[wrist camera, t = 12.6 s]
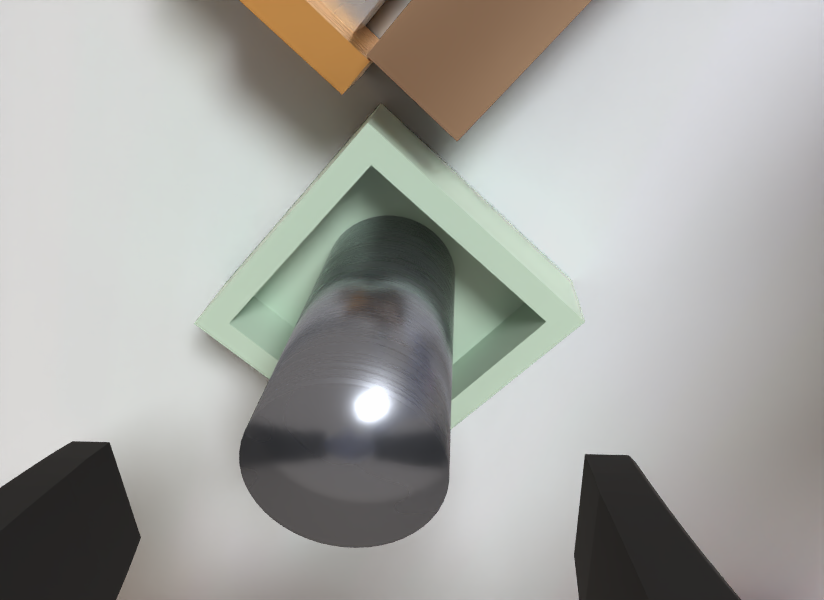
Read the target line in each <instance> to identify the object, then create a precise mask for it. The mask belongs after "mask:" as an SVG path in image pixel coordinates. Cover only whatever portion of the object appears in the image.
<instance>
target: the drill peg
mask: <svg viewBox="0 0 824 600" xmlns="http://www.w3.org/2000/svg"><path fill="white" fill-rule="evenodd" d="M454 300H455V268H454V263H453V260H452V257H451V255H450V252H449V250H448V249H447V247H446V245H445V244H444V243H443V241H442V240H441V239H440V238H439V237H438V236H437V235H436V234H435V233H434V232H433V231H432V230H430V229H429V228H428V227H426V226H424V225H423V224H421V223H419V222H417V221H414V220H412V219H408V218H405V217H400V216H388V215H384V216H376V217H372V218H368V219H365V220H362V221H360V222H358V223H356V224H354V225H353V226H351V227H350V228H349V229H347V230H346V231H345V232H344V233H343V234H342V235H341V236H340V237H339V238H338V240H337V241H336V242H335V244H334V246H333V248H332V250H331V252H330V254H329V256H328V258H327V260H326V262H325V264H324V266H323V269H322V271H321V273H320V275H319V277H318V279H317V281H316V283H315V285H314V287H313V289H312V292H311V294H310V296H309V298H308V300H307V302H306V304H305V306H304V308H303V310H302V313H301V315H300V317H299V319H298V321H297V323H296V325H295V327H294V329H293V331H292V333H291V336H290V338H289V340H288V342H287V344H286V346H285V348H284V350H283V352H282V354H281V356H280V359H279V361H278V363H277V365H276V367H275V369H274V371H273V373H272V375H271V377H270V379H269V382H268V384H267V386H266V388H265V390H264V392H263V394H262V396H261V398H260V400H259V402H258V405H257V407H256V409H255V411H254V413H253V415H252V417H251V419H250V421H249V423H248V426H247V428H246V430H245V432H244V435H243V438H242V440H241V445H240V451H239V463H240V468H241V474H242V477H243V479H244V482H245V485H246V487H247V489H248V491H249V492H250V494H251V496H252V497H253V498H254V500H255V501H256V503H257V504H258V505H259V506H260V507H261V508H262V509H263V511H264V512H265V513H267V514H268V515H269V516H270V517H271V518H272V519H273V520H275V521H276V522H278V523H279V524H280V525H282V526H283V527H285V528H287V529H288V530H290V531H292V532H294V533H296V534H298V535H300V536H302V537H305V538H307V539H310V540H313V541H316V542H319V543H324V544H328V545H333V546H340V547H353V548H359V547H372V546H379V545H384V544H388V543H392V542H395V541H397V540H400V539H403V538H405V537H407V536H409V535H411V534H413V533H414V532H416V531H417V530H419V529H420V528H422V527H423V526H424V525H425V524H427V523H428V522H429V521H430V520H431V519H432V518H433V516H434V515H435V514H436V513H437V512H438V510H439V508H440V507H441V505H442V503H443V501H444V499H445V496H446V493H447V489H448V484H449V464H450V431H451V398H452V365H453V333H454Z"/></svg>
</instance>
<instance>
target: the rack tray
mask: <svg viewBox="0 0 824 600" xmlns="http://www.w3.org/2000/svg"><path fill="white" fill-rule="evenodd" d="M384 215H388V216H400V217H405V218H408V219H412V220H414V221H417V222H419V223H421V224H423V225H424V226H426V227H428V228H429V229H430V230H432V231H433V232H434V233H435V234H436V235H437V236H438V237H439V238H440V239H441V240H442V241H443V243H444V244H445V245H446V247H447V249H448V250H449V252H450V255H451V257H452V260H453V263H454V268H455V300H454V333H453V365H452V398H451V429H452V428H453V427H455V426H456V425H457V424H458V423H460V422H461V421H462V420H463V419H465V418H466V417H467V416H468V415H470V414H471V413H472V412H473V411H475V410H476V409H477V408H478V407H480V406H481V405H482V404H483V403H485V402H486V401H487V400H488V399H490V398H491V397H492V396H493V395H494V394H496V393H497V392H498V391H499V390H501V389H502V388H503V387H504V386H506V385H507V384H508V383H509V382H511V381H512V380H513V379H514V378H516V377H517V376H518V375H519V374H521V373H522V372H523V371H524V370H526V369H527V368H528V367H529V366H531V365H532V364H533V363H534V362H536V361H537V360H538V359H539V358H541V357H542V356H543V355H544V354H546V353H547V352H548V351H549V350H551V349H552V348H553V347H554V346H556V345H557V344H558V343H559V342H561V341H562V340H563V339H564V338H565V337H567V336H568V335H569V334H570V333H572V332H573V331H574V330H575V329H577V328H578V327H579V326H580V325H582V324H583V323H584V322H585V320H584V317H583V314H582V311H581V307H580V304H579V301H578V298H577V295H576V292H575V289H574V286H573V283H572V281H571V280H570V279H569V278H568V277H567V276H566V275H565V274H564V273H563V272H562V271H561V270H559V269H558V268H557V267H556V266H555V265H554V264H553V263H552V262H551V261H550V260H549V259H548V258H547V257H546V256H544V255H543V254H542V253H541V252H540V251H539V250H538V249H537V248H536V247H535V246H534V245H533V244H532V243H531V242H529V241H528V240H527V239H526V238H525V237H524V236H523V235H522V234H521V233H520V232H519V231H518V230H517V229H516V228H514V227H513V226H512V225H511V224H510V223H509V222H508V221H507V220H506V219H505V218H504V217H503V216H502V215H501V214H499V213H498V212H497V211H496V210H495V209H494V208H493V207H492V206H491V205H490V204H489V203H488V202H487V201H485V200H484V199H483V198H482V197H481V196H480V195H479V194H478V193H477V192H476V191H475V190H474V189H473V188H472V187H470V186H469V185H468V184H467V183H466V182H465V181H464V180H463V179H462V178H461V177H460V176H459V175H458V174H457V173H455V172H454V171H453V170H452V169H451V168H450V167H449V166H448V165H447V164H446V163H445V162H444V161H443V160H442V159H440V158H439V157H438V156H437V155H436V154H435V153H434V152H433V151H432V150H431V149H430V148H429V147H428V146H427V145H425V144H424V143H423V142H422V141H421V140H420V139H419V138H418V137H417V136H416V135H415V134H414V133H413V132H412V131H410V130H409V129H408V128H407V127H406V126H405V125H404V124H403V123H402V122H401V121H400V120H399V119H398V118H397V117H395V116H394V115H393V114H392V113H391V112H390V111H389V110H388V109H387V108H386V107H385V106H384V105H383V104H381V103H380V105H379V106H378V107H377V108H376V109H375V110H374V111H373V113H372V114H371V115H370V116H369V117H368V118H367V120H366V121H365V122H364V123H363V124H362V125H361V127H360V128H359V129H358V130H357V131H356V132H355V134H354V135H353V136H352V137H351V138H350V139H349V140H348V142H347V143H346V144H345V145H344V146H343V147H342V149H341V150H340V151H339V152H338V153H337V154H336V156H335V157H334V158H333V159H332V160H331V161H330V163H329V164H328V165H327V166H326V167H325V168H324V170H323V171H322V172H321V173H320V174H319V175H318V176H317V178H316V179H315V180H314V181H313V182H312V183H311V185H310V186H309V187H308V188H307V189H306V190H305V192H304V193H303V194H302V195H301V196H300V197H299V199H298V200H297V201H296V202H295V203H294V204H293V205H292V207H291V208H290V209H289V210H288V211H287V212H286V214H285V215H284V216H283V217H282V218H281V219H280V221H279V222H278V223H277V224H276V225H275V226H274V228H273V229H272V230H271V231H270V232H269V233H268V235H267V236H266V237H265V238H264V239H263V240H262V241H261V243H260V244H259V245H258V246H257V247H256V248H255V250H254V251H253V252H252V253H251V254H250V255H249V257H248V258H247V259H246V260H245V261H244V262H243V264H242V265H241V266H240V267H239V268H238V269H237V271H236V272H235V273H234V274H233V275H232V276H231V277H230V279H229V280H228V281H227V282H226V283H225V284H224V286H223V287H222V288H221V290H220V291H219V292H218V293H217V295H216V296H215V297H214V299H213V300H212V301H211V302H210V304H209V305H208V306H207V308H206V309H205V310H204V311H203V313H202V314H201V315H200V317H199V318H198V319H197V321H196V322H195V323H194V324H195V325H196V326H198V327H199V328H200V329H202V330H203V331H205V332H206V333H207V334H209V335H210V336H211V337H213V338H214V339H215V340H217V341H218V342H219V343H221V344H222V345H223V346H225V347H226V348H227V349H229V350H230V351H232V352H233V353H234V354H236V355H237V356H238V357H240V358H241V359H242V360H244V361H245V362H246V363H248V364H249V365H250V366H252V367H253V368H254V369H256V370H257V371H259V372H260V373H261V374H263V375H264V376H265V377H267V378H268V379H270V377H271V375H272V373H273V371H274V369H275V367H276V365H277V363H278V361H279V359H280V356H281V354H282V352H283V350H284V348H285V346H286V344H287V342H288V340H289V338H290V336H291V333H292V331H293V329H294V327H295V325H296V323H297V321H298V319H299V317H300V315H301V313H302V310H303V308H304V306H305V304H306V302H307V300H308V298H309V296H310V294H311V292H312V289H313V287H314V285H315V283H316V281H317V279H318V277H319V275H320V273H321V271H322V269H323V266H324V264H325V262H326V260H327V258H328V256H329V254H330V252H331V250H332V248H333V246H334V244H335V242H336V241H337V240H338V238H339V237H340V236H341V235H342V234H343V233H344V232H345V231H346V230H347V229H349V228H350V227H351V226H353V225H354V224H356V223H358V222H360V221H362V220H365V219H368V218H372V217H376V216H384Z"/></svg>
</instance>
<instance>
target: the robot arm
mask: <svg viewBox="0 0 824 600" xmlns="http://www.w3.org/2000/svg"><path fill="white" fill-rule="evenodd" d="M140 538H141V537H140V534H139V531H138V528H137V525H136V522H135V519H134V515H133V512H132V509H131V506H130V503H129V500H128V497H127V494H126V491H125V488H124V485H123V482H122V479H121V476H120V473H119V470H118V467H117V464H116V461H115V458H114V454H113V451H112V448H111V445H110V442H75V441H72V442H71V443H69V444H67V445H66V446H64V447H62V448H60V449H59V450H57V451H55V452H54V453H52V454H51V455H49V456H48V457H46V458H44V459H43V460H41V461H40V462H38V463H37V464H35V465H34V466H32V467H31V468H29V469H28V470H26V471H25V472H23V473H22V474H20V475H19V476H17V477H16V478H14V479H13V480H11V481H10V482H8V483H7V484H5V485H4V486H2V487H1V488H0V600H116V598H117V596H118V594H119V591H120V589H121V587H122V584H123V582H124V580H125V577H126V575H127V572H128V570H129V567H130V565H131V562H132V559H133V557H134V554H135V552H136V549H137V546H138V544H139V541H140ZM574 558H575V567H576V575H577V584H578V593H579V600H741V599H740V598H739V597H738V595H737V594H736V593H735V592H734V591H733V590H732V588H731V587H730V586H729V585H728V583H727V582H726V581H725V580H724V578H723V577H722V576H721V575H720V574H719V572H718V571H717V570H716V569H715V567H714V566H713V565H712V564H711V563H710V561H709V560H708V559H707V558H706V556H705V555H704V554H703V553H702V552H701V550H700V549H699V548H698V547H697V545H696V544H695V543H694V541H693V540H692V539H691V538H690V536H689V535H688V534H687V532H686V531H685V530H684V528H683V527H682V526H681V524H680V523H679V522H678V520H677V519H676V518H675V517H674V515H673V514H672V513H671V511H670V510H669V509H668V507H667V506H666V504H665V503H664V502H663V500H662V499H661V498H660V496H659V495H658V493H657V492H656V491H655V489H654V488H653V487H652V485H651V484H650V482H649V481H648V479H647V478H646V477H645V475H644V474H643V472H642V471H641V469H640V468H639V467H638V465H637V464H636V462H635V461H634V460H633V459H632V458H631V457H630V456H629V455H595V454H585V460H584V469H583V478H582V487H581V496H580V506H579V515H578V524H577V533H576V542H575V552H574Z"/></svg>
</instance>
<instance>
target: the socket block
mask: <svg viewBox="0 0 824 600" xmlns="http://www.w3.org/2000/svg"><path fill="white" fill-rule="evenodd" d="M590 1H591V0H411V1H410V3H409V4H408V5H407V6H406V8H405V9H404V10H403V11H402V12H401V14H400V15H399V16H398V17H397V19H396V20H395V21H394V22H393V23H392V25H391V26H390V27H389V28H388V30H387V31H386V32H385V33H384V34H383V36H382V37H381V38H380V39H379V41H378V42H377V43H376V44H375V45H374V47H373V48H372V49H371V50H370V52H369V53H368V54H367V56H368V57H369V58H370V59H371V60H372V61H373V62H374V63H375V64H376V65H377V66H378V67H379V68H380V69H381V70H382V71H383V72H384V73H385V74H387V75H388V76H389V77H390V78H391V79H392V80H393V81H394V82H395V83H396V84H397V85H398V86H399V87H400V88H401V89H402V90H403V91H404V92H405V93H407V94H408V95H409V96H410V97H411V98H412V99H413V100H414V101H415V102H416V103H417V104H418V105H419V106H420V107H421V108H422V109H423V110H424V111H425V112H427V113H428V114H429V115H430V116H431V117H432V118H433V119H434V120H435V121H436V122H437V123H438V124H439V125H440V126H441V127H442V128H443V129H444V130H445V131H446V132H448V133H449V134H450V135H451V136H452V137H453V138H454V139H455V140H456V141H458V140H459V139H460V138H461V137H462V136H463V135H464V134H465V133H466V132H467V131H468V130H469V129H470V127H471V126H472V125H473V124H474V123H475V122H476V121H477V120H478V119H479V118H480V117H481V116H482V115H483V114H484V113H485V112H486V111H487V110H488V109H489V108H490V106H491V105H492V104H493V103H494V102H495V101H496V100H497V99H498V98H499V97H500V96H501V95H502V94H503V93H504V92H505V91H506V90H507V89H508V88H509V87H510V85H511V84H512V83H513V82H514V81H515V80H516V79H517V78H518V77H519V76H520V75H521V74H522V73H523V72H524V71H525V70H526V69H527V68H528V67H529V66H530V64H531V63H532V62H533V61H534V60H535V59H536V58H537V57H538V56H539V55H540V54H541V53H542V52H543V51H544V50H545V49H546V48H547V47H548V46H549V45H550V43H551V42H552V41H553V40H554V39H555V38H556V37H557V36H558V35H559V34H560V33H561V32H562V31H563V30H564V29H565V28H566V27H567V26H568V25H569V24H570V22H571V21H572V20H573V19H574V18H575V17H576V16H577V15H578V14H579V13H580V12H581V11H582V10H583V9H584V8H585V7H586V6H587V5H588V4H589V3H590Z"/></svg>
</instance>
